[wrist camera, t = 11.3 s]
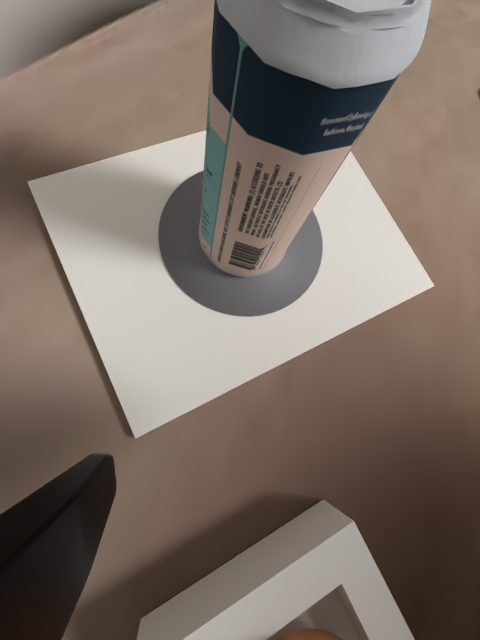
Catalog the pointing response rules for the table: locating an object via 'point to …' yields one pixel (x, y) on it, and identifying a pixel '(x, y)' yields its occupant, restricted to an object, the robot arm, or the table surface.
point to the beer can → (290, 112)
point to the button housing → (287, 589)
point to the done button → (309, 635)
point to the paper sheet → (211, 277)
